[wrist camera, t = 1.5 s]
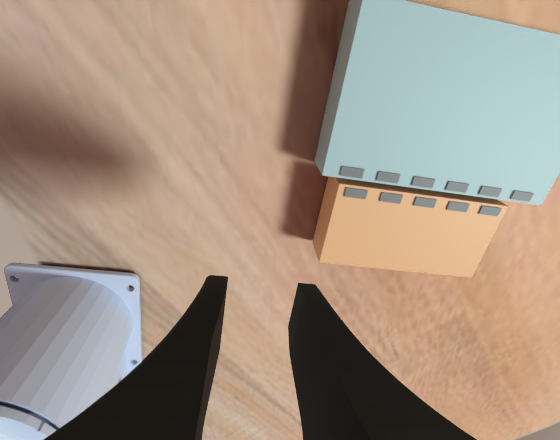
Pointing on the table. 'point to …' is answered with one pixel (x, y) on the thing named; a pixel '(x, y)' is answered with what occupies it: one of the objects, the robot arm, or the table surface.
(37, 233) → the table surface
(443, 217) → the stub
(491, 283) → the table surface
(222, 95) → the table surface
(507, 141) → the notched pale blue slab
